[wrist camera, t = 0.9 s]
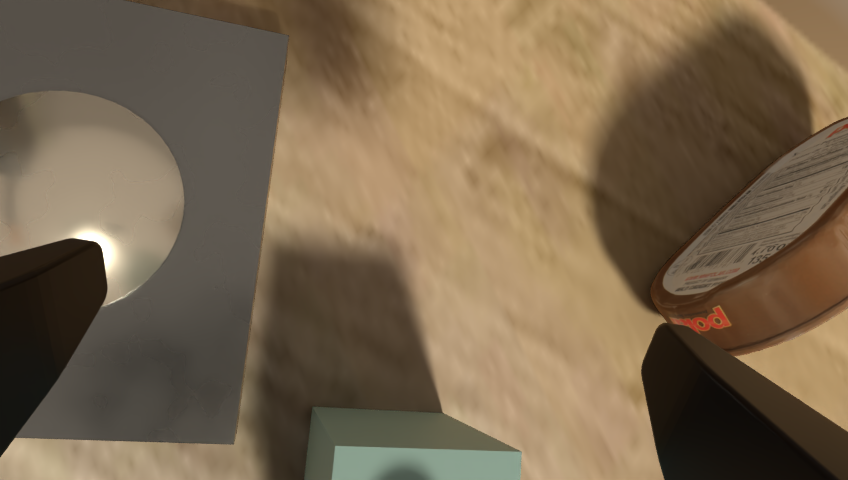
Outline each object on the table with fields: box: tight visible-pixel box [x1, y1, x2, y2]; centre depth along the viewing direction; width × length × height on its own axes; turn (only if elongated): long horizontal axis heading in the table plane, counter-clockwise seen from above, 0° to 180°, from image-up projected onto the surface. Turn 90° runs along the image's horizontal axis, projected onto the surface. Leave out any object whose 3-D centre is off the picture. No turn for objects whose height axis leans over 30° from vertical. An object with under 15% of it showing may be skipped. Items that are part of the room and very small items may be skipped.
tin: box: [651, 117, 848, 356], centre depth 23 cm, size 15×3×8 cm, turn 128°
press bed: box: [0, 0, 289, 444], centre depth 18 cm, size 14×12×2 cm
